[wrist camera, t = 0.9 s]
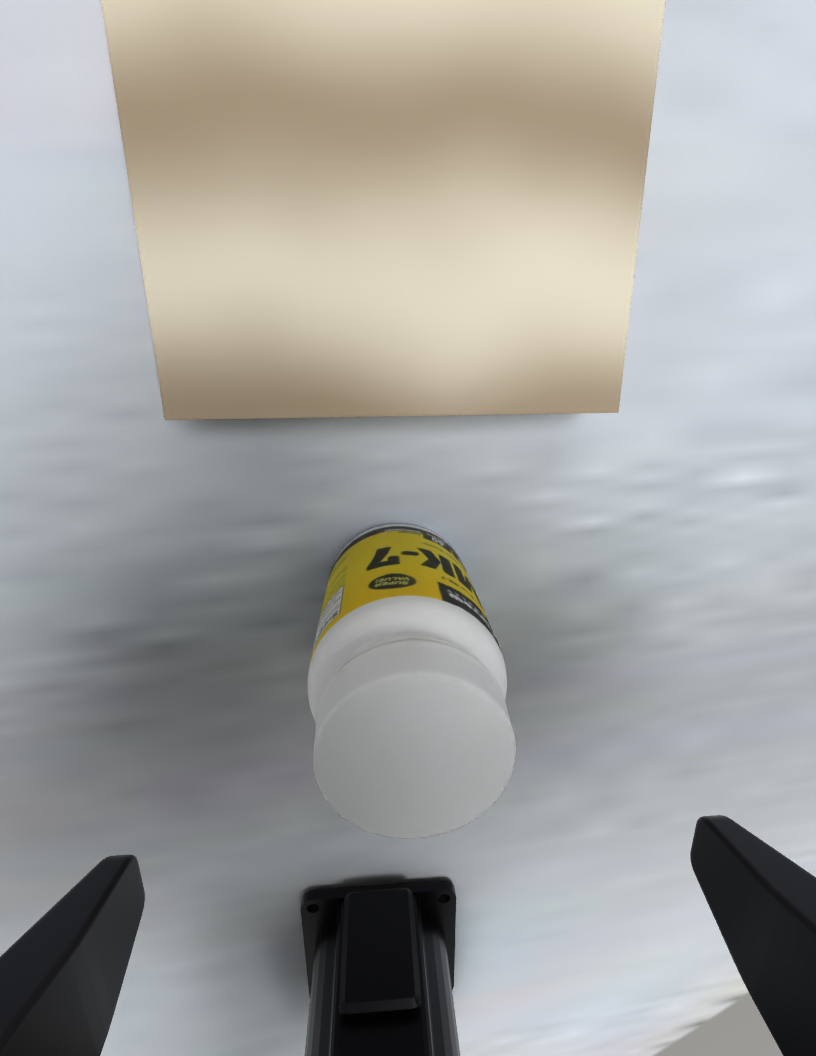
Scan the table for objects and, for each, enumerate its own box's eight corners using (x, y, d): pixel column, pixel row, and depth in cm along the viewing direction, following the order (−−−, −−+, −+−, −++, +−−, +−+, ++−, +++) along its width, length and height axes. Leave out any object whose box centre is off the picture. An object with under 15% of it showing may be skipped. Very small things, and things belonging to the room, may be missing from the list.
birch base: (582, 405, 16) (618, 412, 14) (196, 411, 16) (164, 419, 13) (628, -96, 13) (688, -200, 10) (126, -118, 12) (64, -237, 10)
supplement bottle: (486, 547, 18) (582, 700, 10) (433, 661, 19) (479, 879, 11) (355, 499, 17) (341, 623, 9) (308, 620, 18) (259, 825, 10)
